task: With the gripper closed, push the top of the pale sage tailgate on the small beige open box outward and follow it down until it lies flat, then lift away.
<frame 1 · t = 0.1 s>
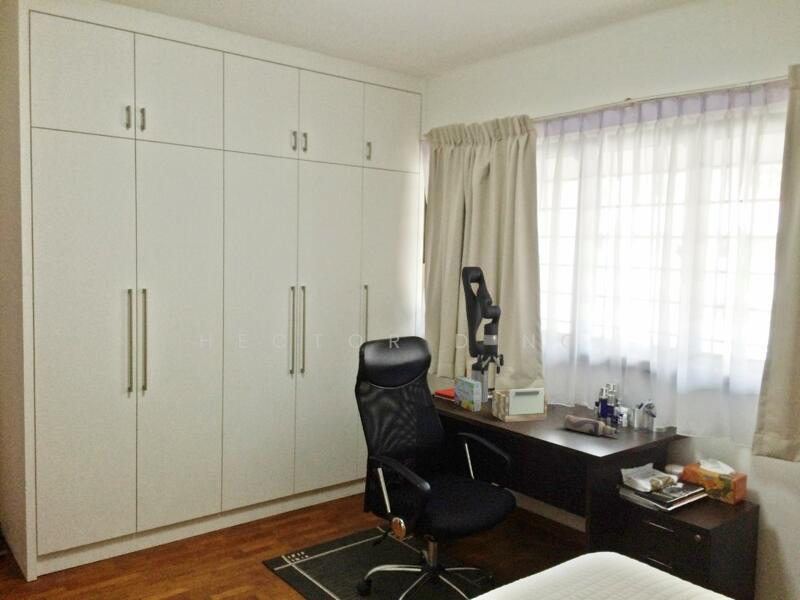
hand: (490, 374, 354), 17 cm above the table, fingers open, 8 cm apart
decorative bottle: (589, 434, 304), on the table
snack box: (467, 407, 353), on the table
beige open box: (518, 416, 333), on the table
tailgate: (526, 401, 325), point 9 cm above the table, hinge at 0.0°
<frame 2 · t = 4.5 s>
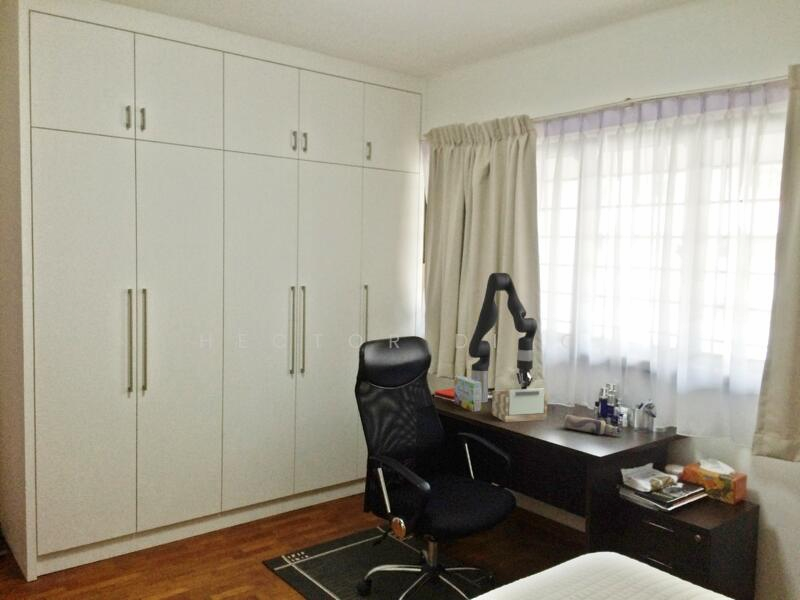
hand: (523, 394, 328), 12 cm above the table, fingers closed
decorative bottle: (590, 433, 305), on the table
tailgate: (526, 401, 325), point 9 cm above the table, hinge at 1.4°, touching gripper
everything else where it was.
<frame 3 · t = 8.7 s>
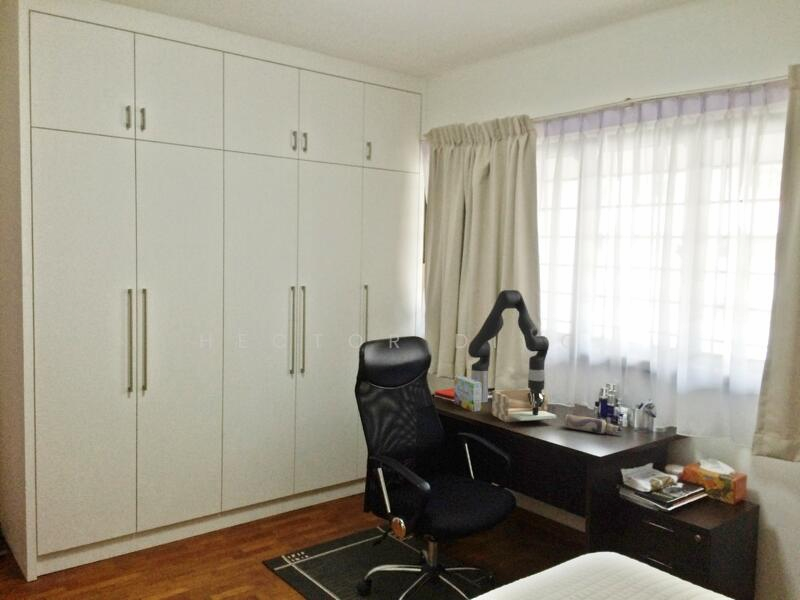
hand: (535, 414, 317), 5 cm above the table, fingers closed
decorative bottle: (590, 432, 306), on the table
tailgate: (532, 416, 319), point 4 cm above the table, hinge at 87.1°, touching gripper
everything else where it was.
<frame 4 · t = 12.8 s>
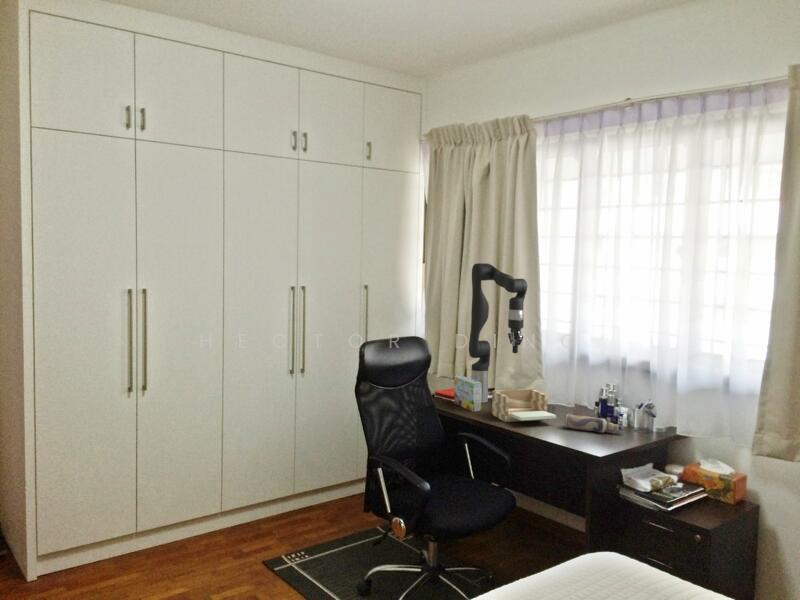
hand: (515, 353, 337), 31 cm above the table, fingers closed
decorative bottle: (591, 432, 307), on the table
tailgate: (532, 416, 319), point 4 cm above the table, hinge at 87.1°
everything else where it was.
at the end: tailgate at +87° (first picture: +0°); decorative bottle moved 4.5 cm from its start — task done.
